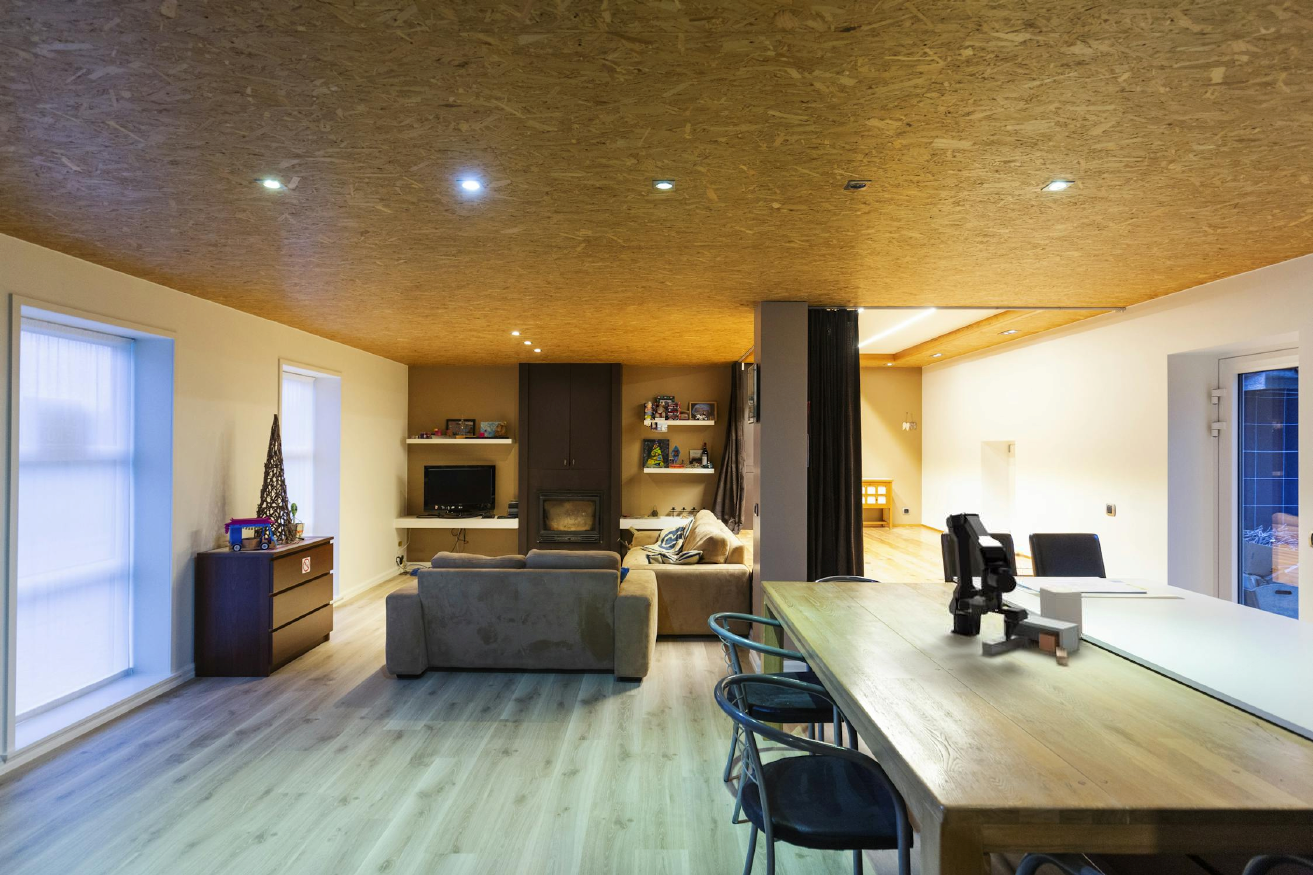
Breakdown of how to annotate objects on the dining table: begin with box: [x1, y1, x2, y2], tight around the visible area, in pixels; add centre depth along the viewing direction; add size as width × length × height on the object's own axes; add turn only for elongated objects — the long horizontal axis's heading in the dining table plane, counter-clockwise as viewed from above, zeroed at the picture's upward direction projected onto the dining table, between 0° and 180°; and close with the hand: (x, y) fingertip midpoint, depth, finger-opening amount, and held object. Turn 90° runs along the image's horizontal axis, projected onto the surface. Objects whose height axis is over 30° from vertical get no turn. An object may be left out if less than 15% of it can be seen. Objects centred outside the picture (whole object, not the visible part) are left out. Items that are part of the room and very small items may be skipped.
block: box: [1038, 632, 1060, 653], centre depth 202 cm, size 4×4×4 cm
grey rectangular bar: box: [981, 632, 1031, 657], centre depth 201 cm, size 18×7×4 cm, turn 123°
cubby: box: [1003, 614, 1080, 654], centre depth 206 cm, size 18×10×8 cm, turn 33°
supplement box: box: [1039, 586, 1083, 639], centre depth 217 cm, size 9×9×15 cm
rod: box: [1055, 647, 1068, 666], centre depth 191 cm, size 2×10×2 cm, turn 150°
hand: (992, 637), depth 198 cm, fingers open, 9 cm apart
